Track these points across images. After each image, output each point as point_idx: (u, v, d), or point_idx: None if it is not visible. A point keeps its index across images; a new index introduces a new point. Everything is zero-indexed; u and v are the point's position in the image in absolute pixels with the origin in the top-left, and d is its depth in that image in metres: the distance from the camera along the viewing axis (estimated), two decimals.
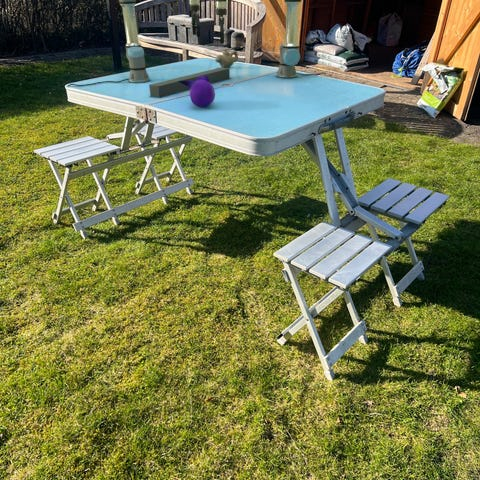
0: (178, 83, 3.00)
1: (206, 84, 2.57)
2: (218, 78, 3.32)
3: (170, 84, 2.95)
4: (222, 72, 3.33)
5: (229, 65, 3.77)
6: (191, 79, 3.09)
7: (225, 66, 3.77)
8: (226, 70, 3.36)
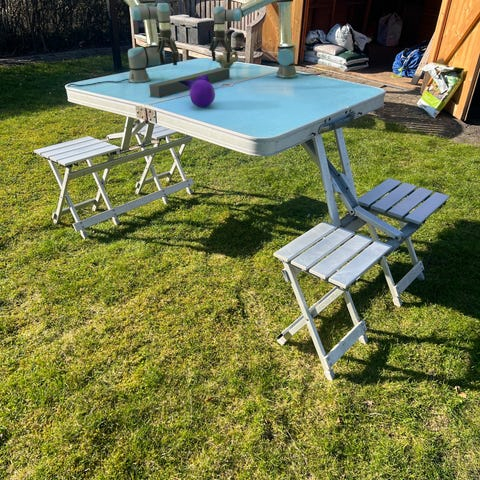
0: (178, 83, 3.00)
1: (206, 84, 2.57)
2: (218, 78, 3.32)
3: (170, 84, 2.95)
4: (222, 72, 3.33)
5: (229, 65, 3.77)
6: (191, 79, 3.09)
7: (225, 66, 3.77)
8: (226, 70, 3.36)
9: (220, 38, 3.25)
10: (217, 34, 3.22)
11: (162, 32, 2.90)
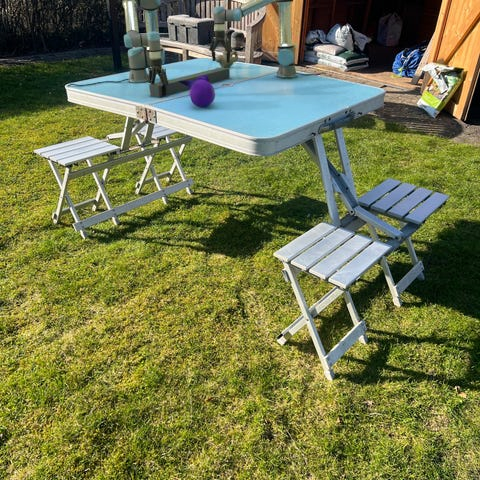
0: (178, 83, 3.00)
1: (206, 84, 2.57)
2: (218, 78, 3.32)
3: (170, 84, 2.95)
4: (222, 72, 3.33)
5: (229, 65, 3.77)
6: (191, 79, 3.09)
7: (225, 66, 3.77)
8: (226, 70, 3.36)
9: (220, 38, 3.25)
10: (217, 34, 3.22)
11: (153, 61, 2.82)
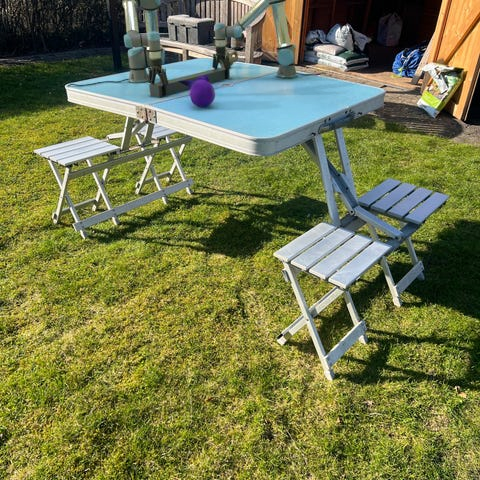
0: (178, 83, 3.00)
1: (206, 84, 2.57)
2: (218, 78, 3.32)
3: (170, 84, 2.95)
4: (222, 72, 3.33)
5: None
6: (191, 79, 3.09)
7: None
8: None
9: (221, 53, 3.30)
10: (218, 50, 3.28)
11: (153, 61, 2.82)
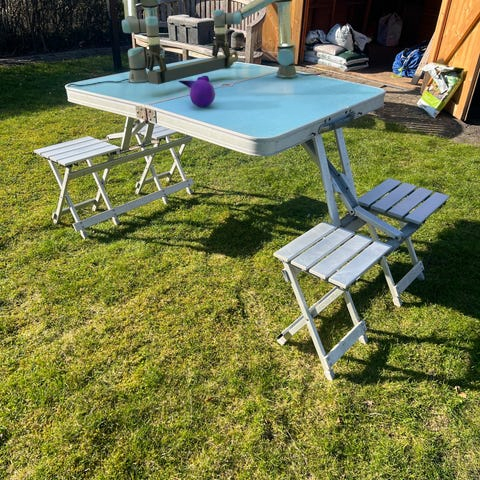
0: (177, 70, 2.96)
1: (206, 84, 2.57)
2: (218, 66, 3.27)
3: (169, 71, 2.91)
4: (222, 60, 3.29)
5: None
6: (190, 66, 3.05)
7: None
8: None
9: (221, 40, 3.26)
10: (217, 37, 3.23)
11: (151, 47, 2.78)
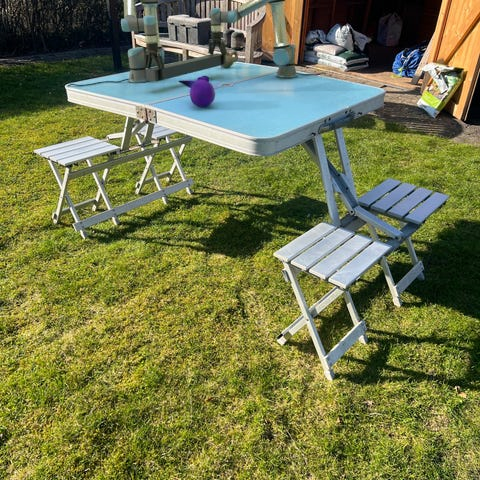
0: (174, 67, 3.05)
1: (206, 84, 2.57)
2: (214, 63, 3.36)
3: (166, 68, 3.00)
4: (218, 57, 3.37)
5: (229, 65, 3.77)
6: (187, 64, 3.14)
7: (225, 66, 3.77)
8: None
9: (217, 38, 3.34)
10: (214, 35, 3.32)
11: (149, 45, 2.86)
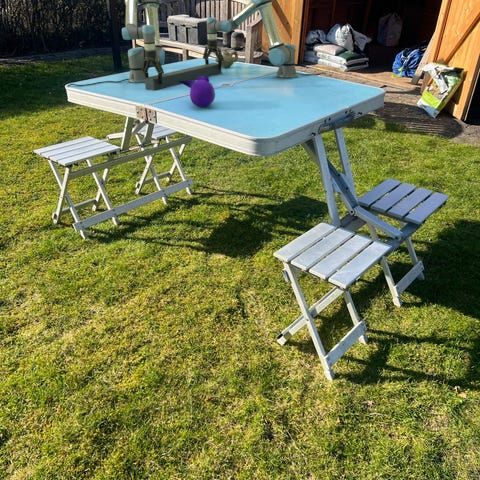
0: (172, 77, 3.20)
1: (206, 84, 2.57)
2: (211, 72, 3.51)
3: (164, 77, 3.15)
4: (214, 67, 3.53)
5: (229, 65, 3.77)
6: (184, 73, 3.29)
7: (225, 66, 3.77)
8: None
9: (212, 46, 3.49)
10: (210, 43, 3.46)
11: (148, 53, 3.01)
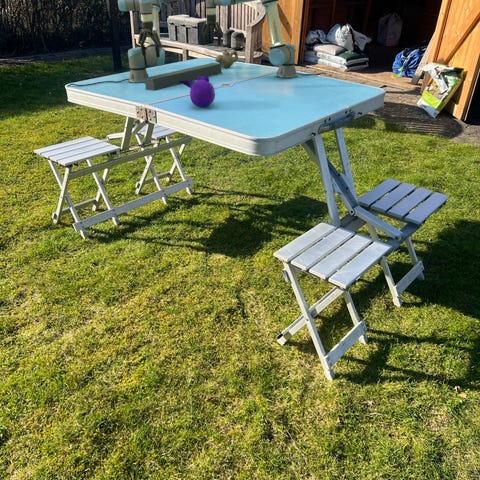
0: (172, 77, 3.20)
1: (206, 84, 2.57)
2: (211, 72, 3.51)
3: (164, 77, 3.15)
4: (214, 67, 3.53)
5: (229, 65, 3.77)
6: (184, 73, 3.29)
7: (225, 66, 3.77)
8: (218, 65, 3.56)
9: (211, 22, 3.40)
10: (208, 18, 3.38)
11: (144, 24, 2.92)
